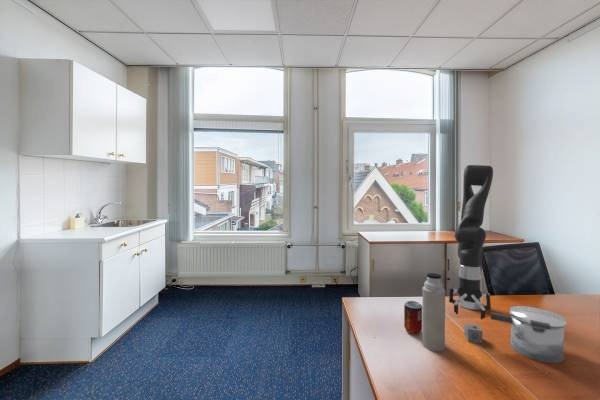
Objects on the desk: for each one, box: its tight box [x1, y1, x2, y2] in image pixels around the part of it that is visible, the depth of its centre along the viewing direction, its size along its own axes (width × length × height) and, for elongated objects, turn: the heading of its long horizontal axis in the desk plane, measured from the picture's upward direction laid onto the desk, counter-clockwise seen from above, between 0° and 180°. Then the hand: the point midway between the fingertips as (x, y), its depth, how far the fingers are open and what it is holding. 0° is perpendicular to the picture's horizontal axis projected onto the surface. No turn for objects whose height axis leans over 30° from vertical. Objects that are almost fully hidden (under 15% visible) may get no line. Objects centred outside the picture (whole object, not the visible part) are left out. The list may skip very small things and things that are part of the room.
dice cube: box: [463, 323, 483, 344], centre depth 113 cm, size 5×5×5 cm
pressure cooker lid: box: [509, 305, 567, 330], centre depth 103 cm, size 16×18×2 cm
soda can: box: [403, 300, 422, 336], centre depth 120 cm, size 7×7×12 cm
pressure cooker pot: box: [490, 311, 565, 364], centre depth 107 cm, size 22×17×12 cm
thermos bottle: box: [421, 272, 446, 352], centre depth 108 cm, size 8×8×28 cm
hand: (469, 316), depth 113 cm, fingers open, 8 cm apart
